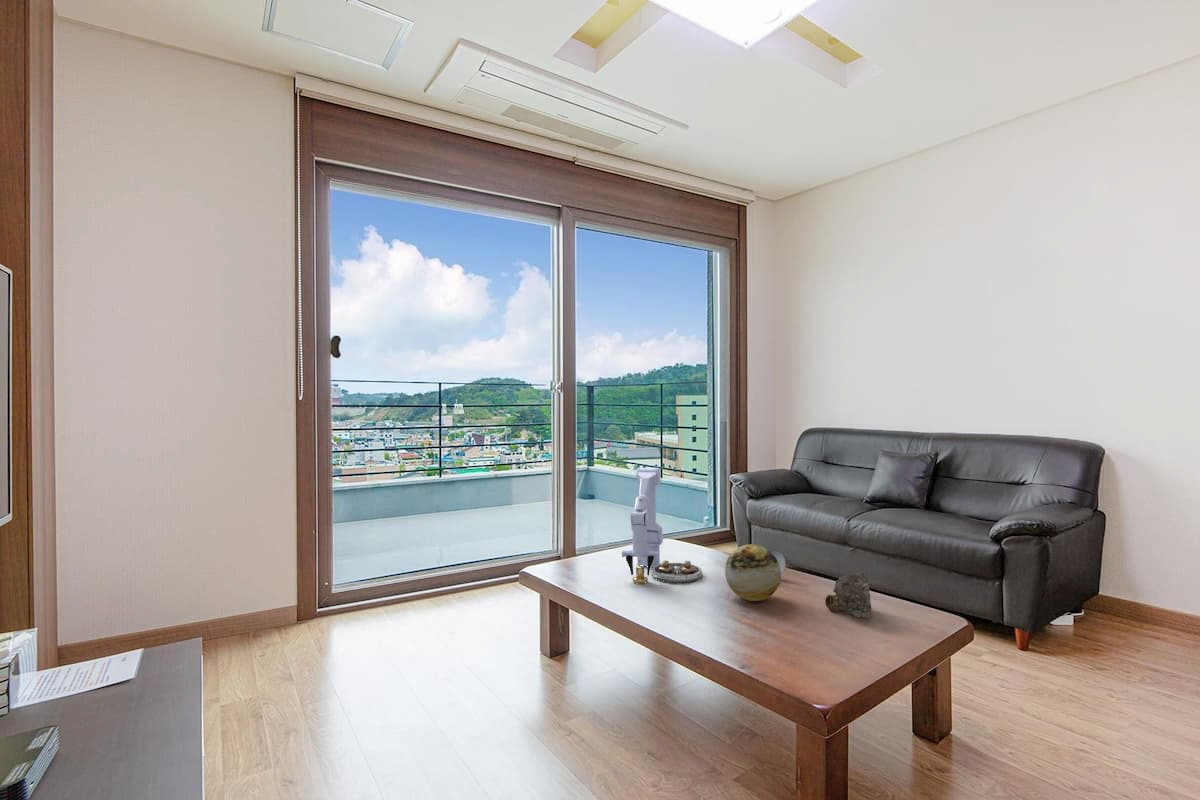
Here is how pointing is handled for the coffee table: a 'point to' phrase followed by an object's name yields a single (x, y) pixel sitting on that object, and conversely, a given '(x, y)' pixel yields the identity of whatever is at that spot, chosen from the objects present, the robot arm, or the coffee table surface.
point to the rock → (851, 596)
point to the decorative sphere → (753, 572)
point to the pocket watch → (780, 560)
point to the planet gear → (640, 575)
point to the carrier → (677, 572)
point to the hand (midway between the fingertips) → (640, 574)
